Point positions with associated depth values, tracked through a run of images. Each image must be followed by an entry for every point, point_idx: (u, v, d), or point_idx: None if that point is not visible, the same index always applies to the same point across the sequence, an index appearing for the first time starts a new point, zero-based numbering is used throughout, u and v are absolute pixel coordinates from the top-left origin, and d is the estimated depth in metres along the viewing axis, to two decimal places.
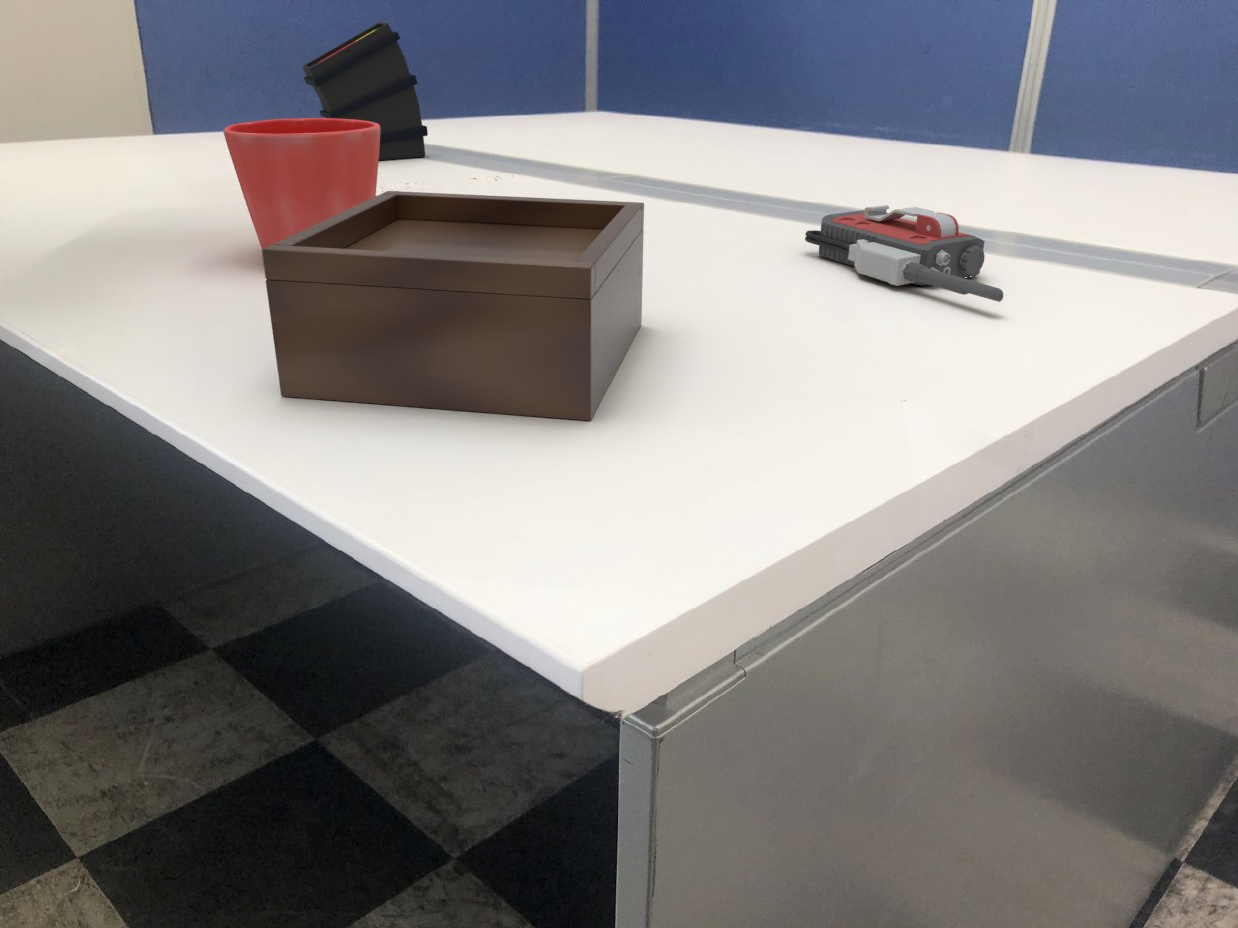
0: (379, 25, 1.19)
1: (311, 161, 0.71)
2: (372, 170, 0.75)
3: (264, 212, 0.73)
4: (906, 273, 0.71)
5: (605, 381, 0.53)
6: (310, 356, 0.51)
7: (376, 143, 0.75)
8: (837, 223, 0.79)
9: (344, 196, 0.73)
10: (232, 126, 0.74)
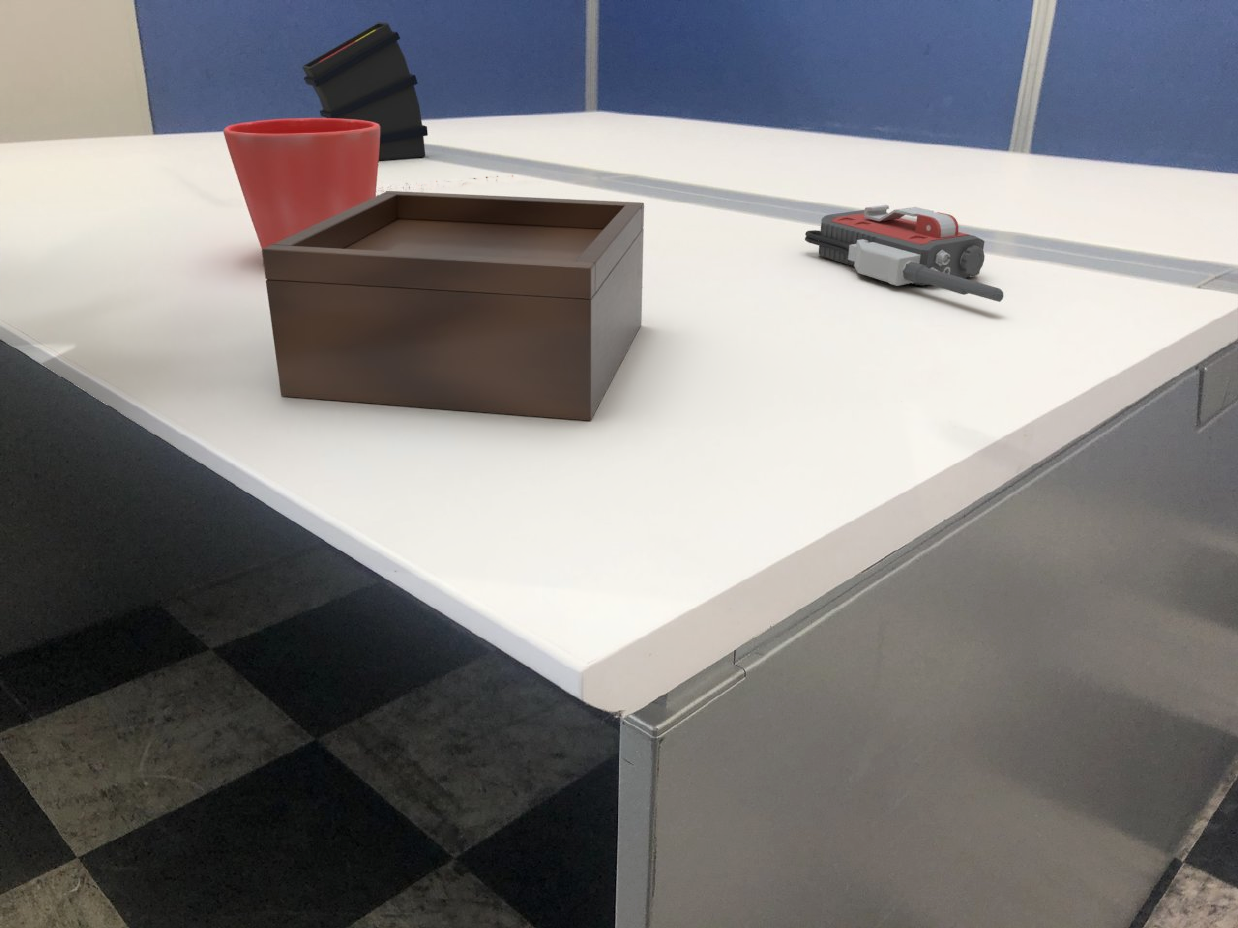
0: (379, 25, 1.19)
1: (311, 161, 0.71)
2: (372, 170, 0.75)
3: (264, 212, 0.73)
4: (906, 273, 0.71)
5: (605, 381, 0.53)
6: (310, 356, 0.51)
7: (376, 143, 0.75)
8: (837, 222, 0.79)
9: (344, 196, 0.73)
10: (232, 126, 0.74)
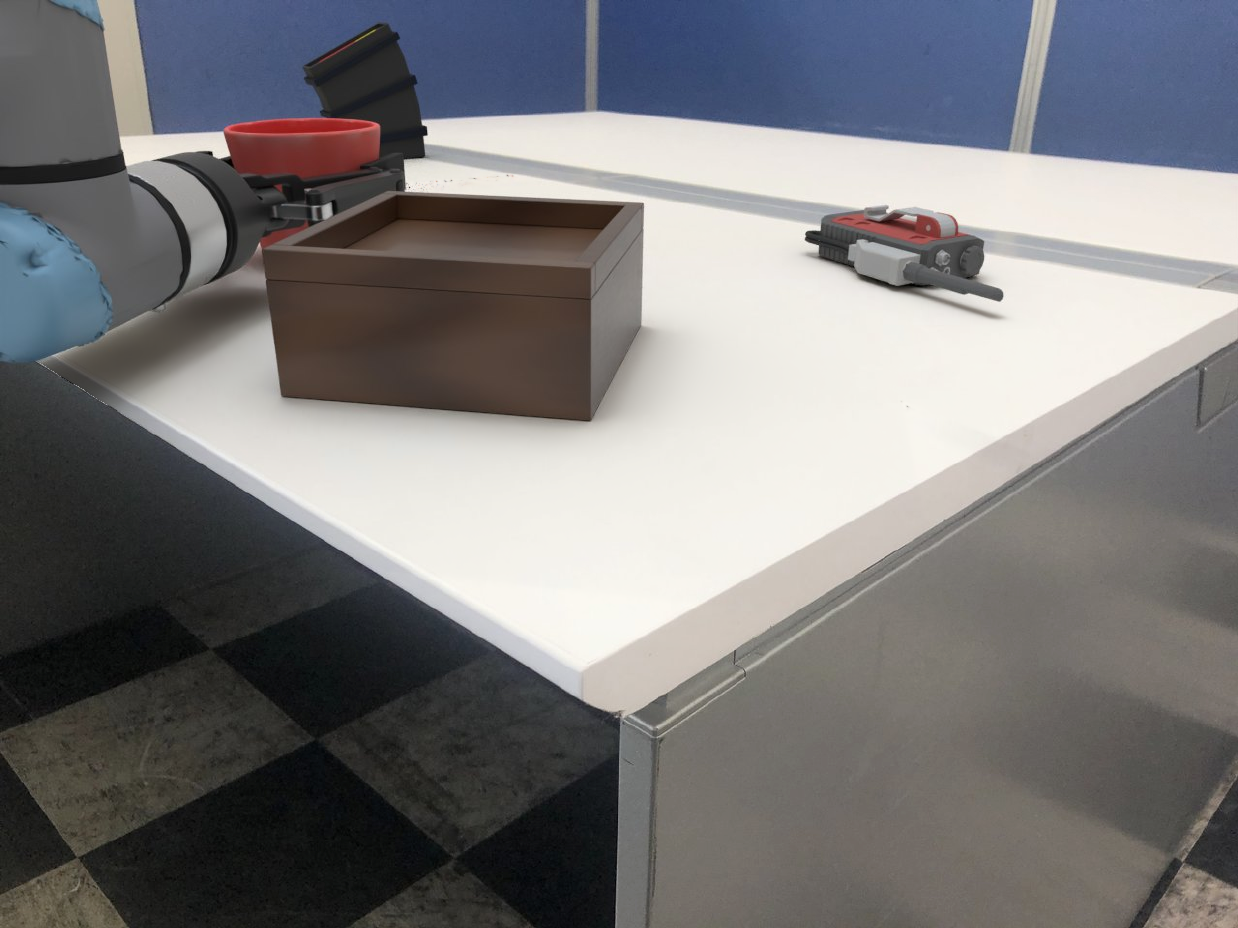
0: (379, 25, 1.19)
1: (311, 161, 0.71)
2: None
3: None
4: (906, 273, 0.71)
5: (605, 381, 0.53)
6: (310, 356, 0.51)
7: (376, 143, 0.75)
8: (837, 222, 0.79)
9: None
10: (232, 126, 0.74)
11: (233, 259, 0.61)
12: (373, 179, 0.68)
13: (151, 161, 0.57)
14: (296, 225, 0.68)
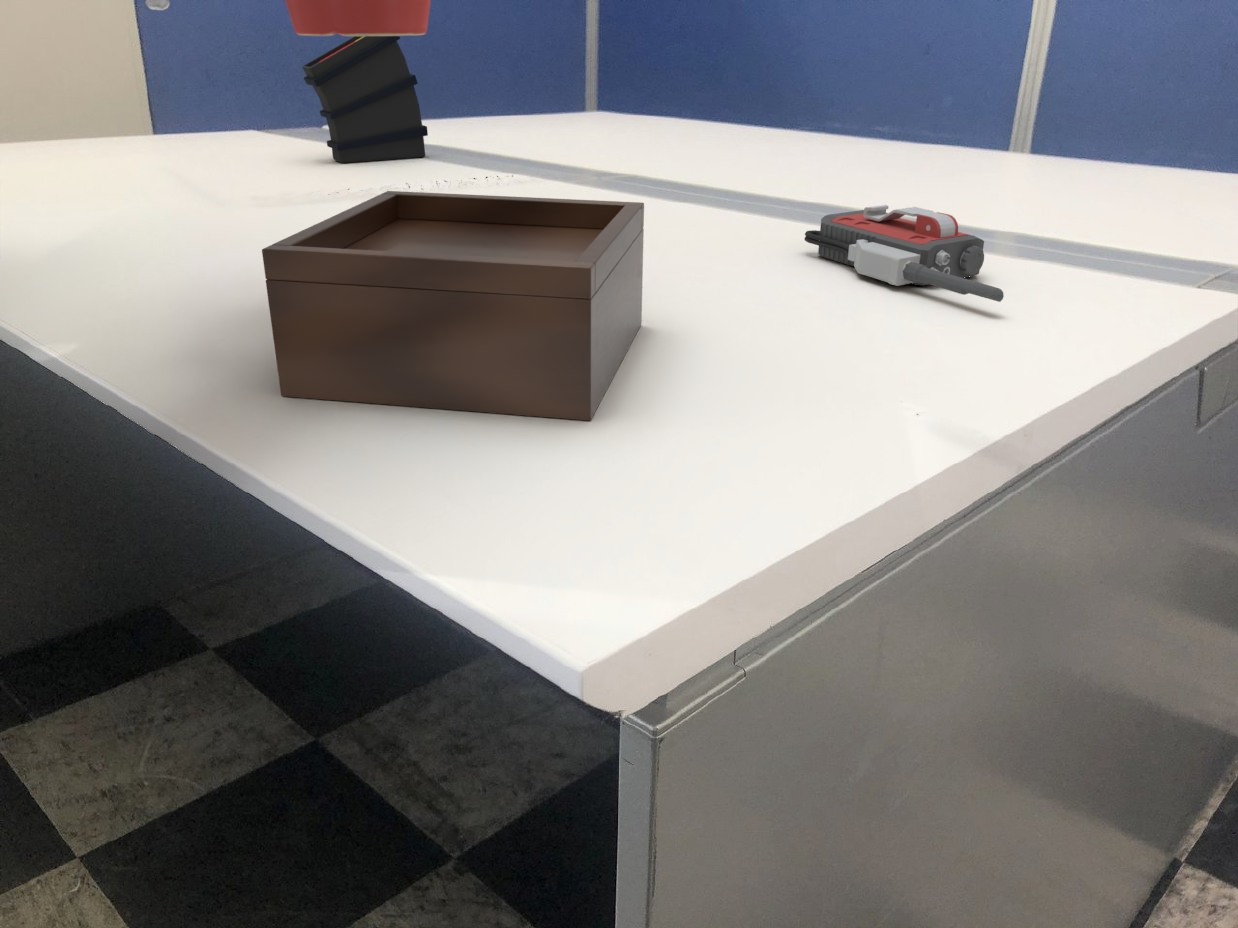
0: None
1: None
2: None
3: None
4: (906, 273, 0.71)
5: (605, 381, 0.53)
6: (310, 356, 0.51)
7: None
8: (836, 222, 0.79)
9: None
10: None
11: None
12: None
13: None
14: None
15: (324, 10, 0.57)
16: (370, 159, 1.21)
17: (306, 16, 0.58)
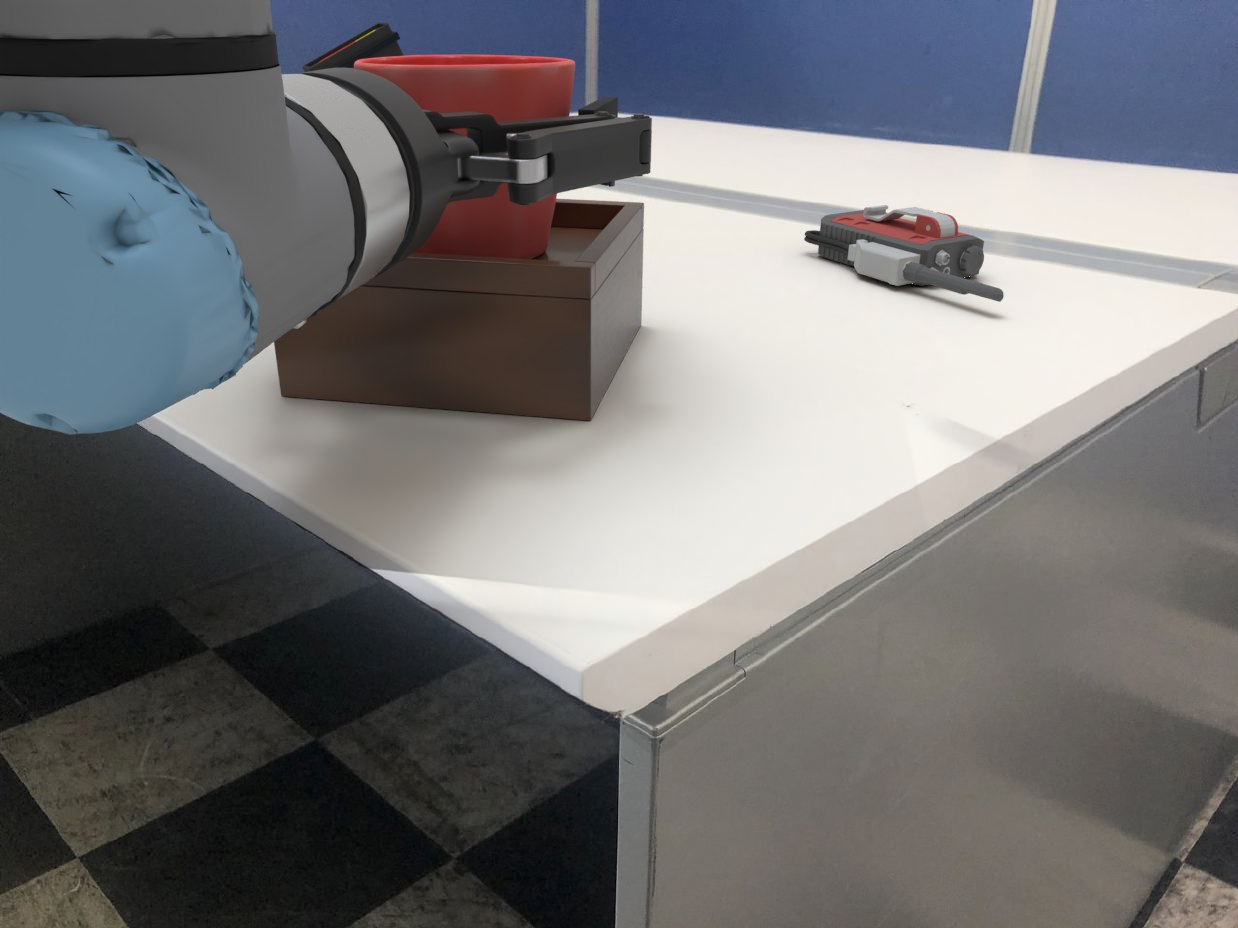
0: (379, 25, 1.19)
1: (491, 108, 0.48)
2: None
3: None
4: (906, 273, 0.71)
5: (605, 381, 0.53)
6: (310, 356, 0.51)
7: (572, 85, 0.51)
8: (836, 223, 0.79)
9: None
10: (363, 60, 0.51)
11: (411, 241, 0.37)
12: (609, 125, 0.44)
13: (290, 74, 0.34)
14: (484, 194, 0.44)
15: (442, 240, 0.51)
16: None
17: None
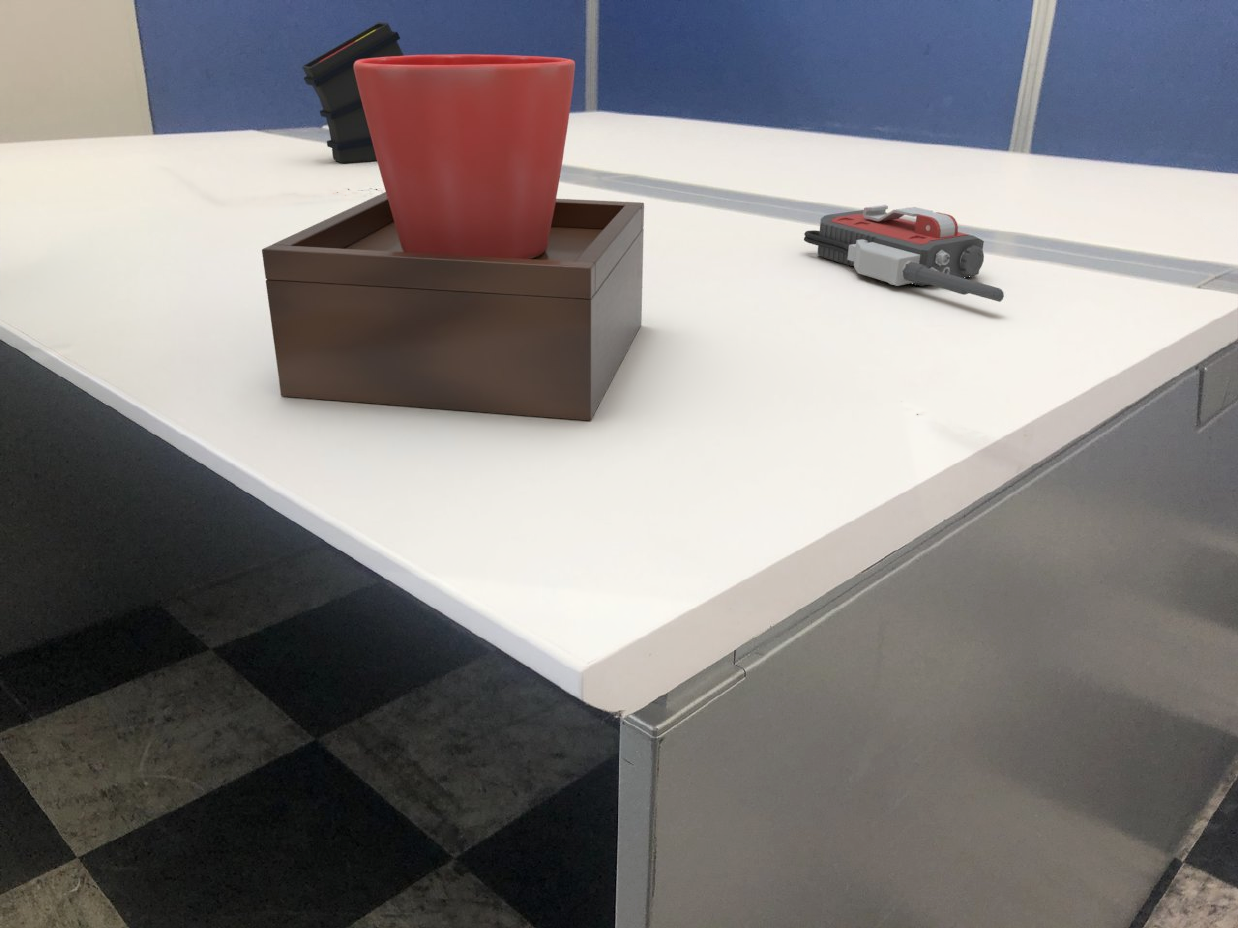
0: (379, 25, 1.19)
1: (491, 108, 0.48)
2: (565, 125, 0.52)
3: (414, 185, 0.50)
4: (906, 273, 0.71)
5: (605, 381, 0.53)
6: (310, 356, 0.51)
7: (572, 85, 0.51)
8: (836, 223, 0.79)
9: (530, 161, 0.50)
10: (363, 60, 0.51)
11: None
12: None
13: None
14: None
15: (442, 240, 0.51)
16: (370, 159, 1.21)
17: (421, 244, 0.52)
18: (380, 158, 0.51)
